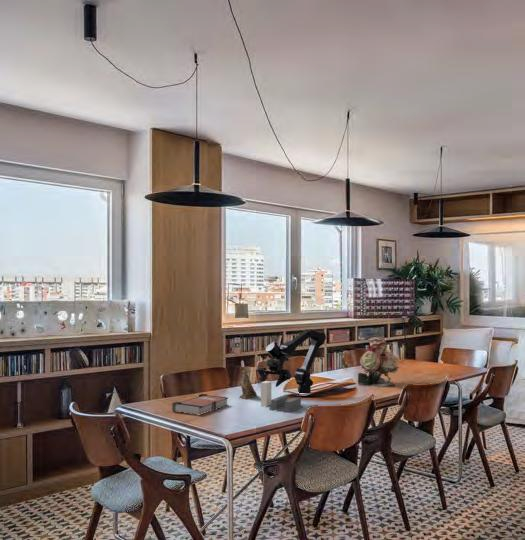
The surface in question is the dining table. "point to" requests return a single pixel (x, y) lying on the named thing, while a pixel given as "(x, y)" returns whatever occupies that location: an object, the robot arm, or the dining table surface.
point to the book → (200, 404)
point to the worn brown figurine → (247, 387)
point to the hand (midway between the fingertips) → (268, 385)
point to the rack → (285, 404)
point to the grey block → (266, 393)
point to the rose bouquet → (377, 364)
